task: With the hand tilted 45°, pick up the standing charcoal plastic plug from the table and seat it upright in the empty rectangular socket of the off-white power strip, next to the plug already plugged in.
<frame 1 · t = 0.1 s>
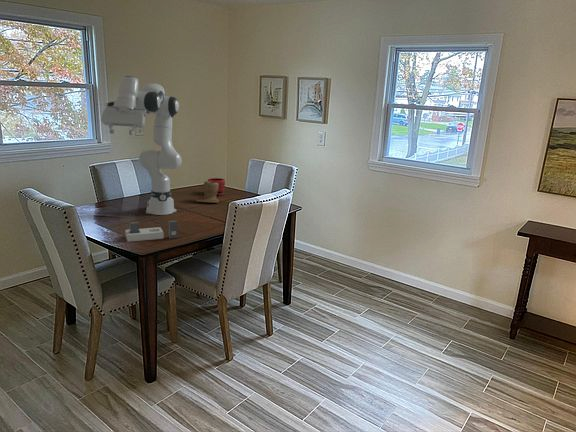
hand: (121, 133, 206), 54 cm above the table, tool tilted 30°, fingers open, 8 cm apart
tan boot: (208, 202, 307), on the table
plug: (173, 237, 231), on the table
plant pot: (216, 194, 330), on the table
power strip: (144, 237, 228), on the table
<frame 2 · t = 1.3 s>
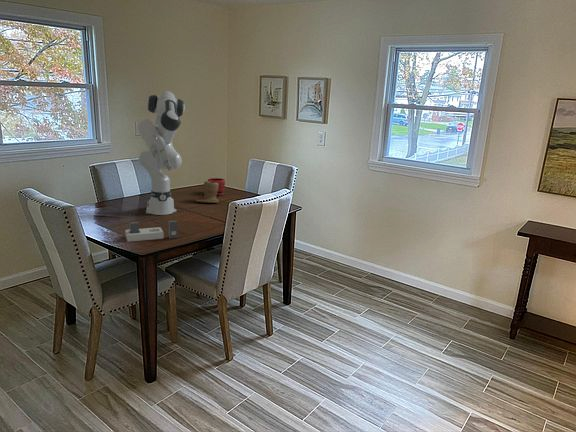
hand: (168, 164, 216), 40 cm above the table, tool tilted 55°, fingers open, 8 cm apart
nothing on the table moved.
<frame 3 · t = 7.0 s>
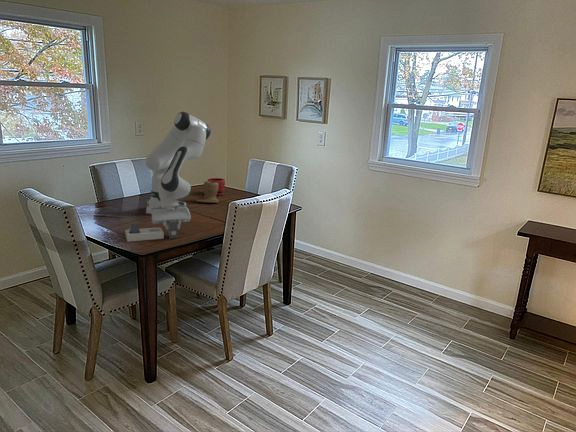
hand: (173, 229, 229), 5 cm above the table, tool tilted 45°, fingers closed on plug, 4 cm apart
plug: (173, 237, 231), on the table, touching gripper
everything else where it was.
when the fingers open (5 cm above the table, at t = 12.6 s): plug stays where it is, resting in power strip.
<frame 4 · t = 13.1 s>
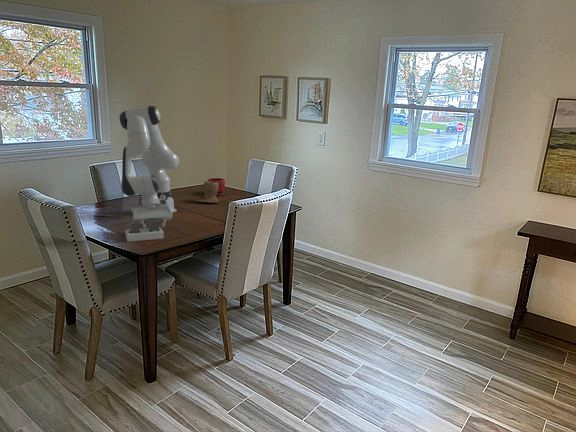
hand: (154, 227, 228), 5 cm above the table, tool tilted 45°, fingers open, 8 cm apart
plug: (154, 236, 230), resting in power strip
everything else where it was.
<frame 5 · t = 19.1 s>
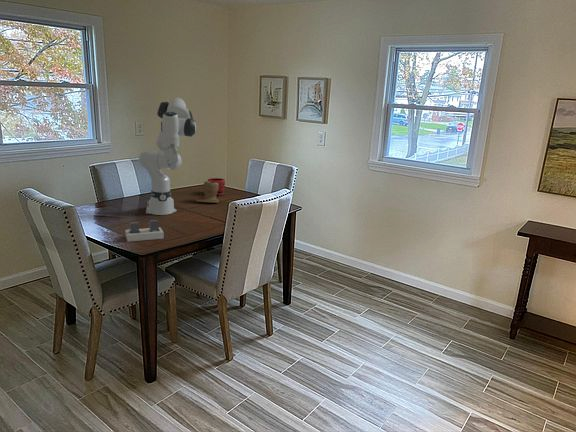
hand: (171, 168, 238), 34 cm above the table, tool pointing down, fingers open, 8 cm apart
nothing on the table moved.
at the end: plug 0.1 cm from the target spot on the power strip, point 0.0 cm above the power strip's base; plug tilted 0°; the gripper is holding nothing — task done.
